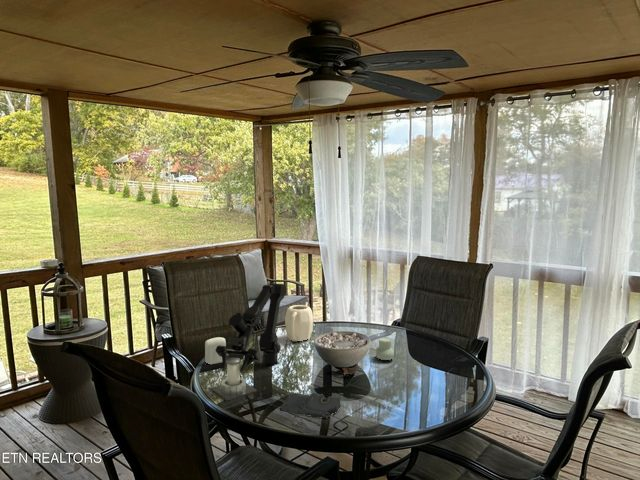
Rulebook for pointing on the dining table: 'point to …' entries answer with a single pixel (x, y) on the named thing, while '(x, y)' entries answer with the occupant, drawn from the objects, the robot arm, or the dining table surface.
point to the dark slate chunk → (311, 405)
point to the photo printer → (213, 350)
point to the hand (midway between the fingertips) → (232, 371)
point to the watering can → (299, 322)
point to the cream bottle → (233, 371)
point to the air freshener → (384, 349)
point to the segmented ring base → (233, 390)
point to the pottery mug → (350, 370)
